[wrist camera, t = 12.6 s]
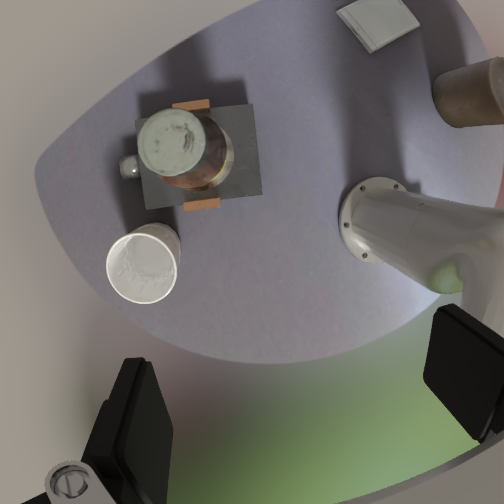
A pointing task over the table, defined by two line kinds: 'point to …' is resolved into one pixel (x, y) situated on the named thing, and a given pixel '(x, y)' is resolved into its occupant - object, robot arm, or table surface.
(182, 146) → the sauce bottle
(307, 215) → the table surface
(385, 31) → the hard drive
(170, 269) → the white cup
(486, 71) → the pillar candle
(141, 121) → the block
